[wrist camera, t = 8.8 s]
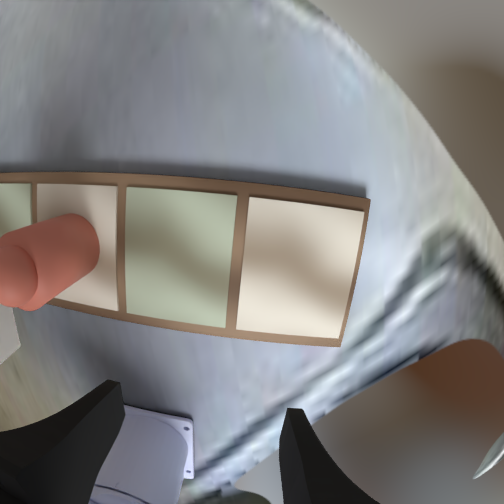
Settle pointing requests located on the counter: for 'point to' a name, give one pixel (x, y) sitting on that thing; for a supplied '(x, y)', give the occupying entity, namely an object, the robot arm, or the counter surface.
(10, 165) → the counter surface
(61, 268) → the pawn
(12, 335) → the die
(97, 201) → the board
